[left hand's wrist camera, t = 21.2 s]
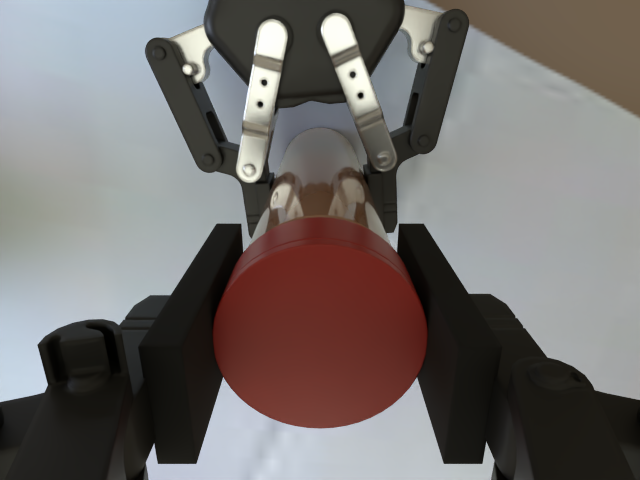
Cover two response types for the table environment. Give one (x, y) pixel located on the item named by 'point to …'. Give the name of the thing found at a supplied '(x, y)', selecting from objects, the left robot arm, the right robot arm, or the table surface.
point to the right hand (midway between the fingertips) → (323, 242)
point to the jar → (319, 185)
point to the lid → (320, 324)
